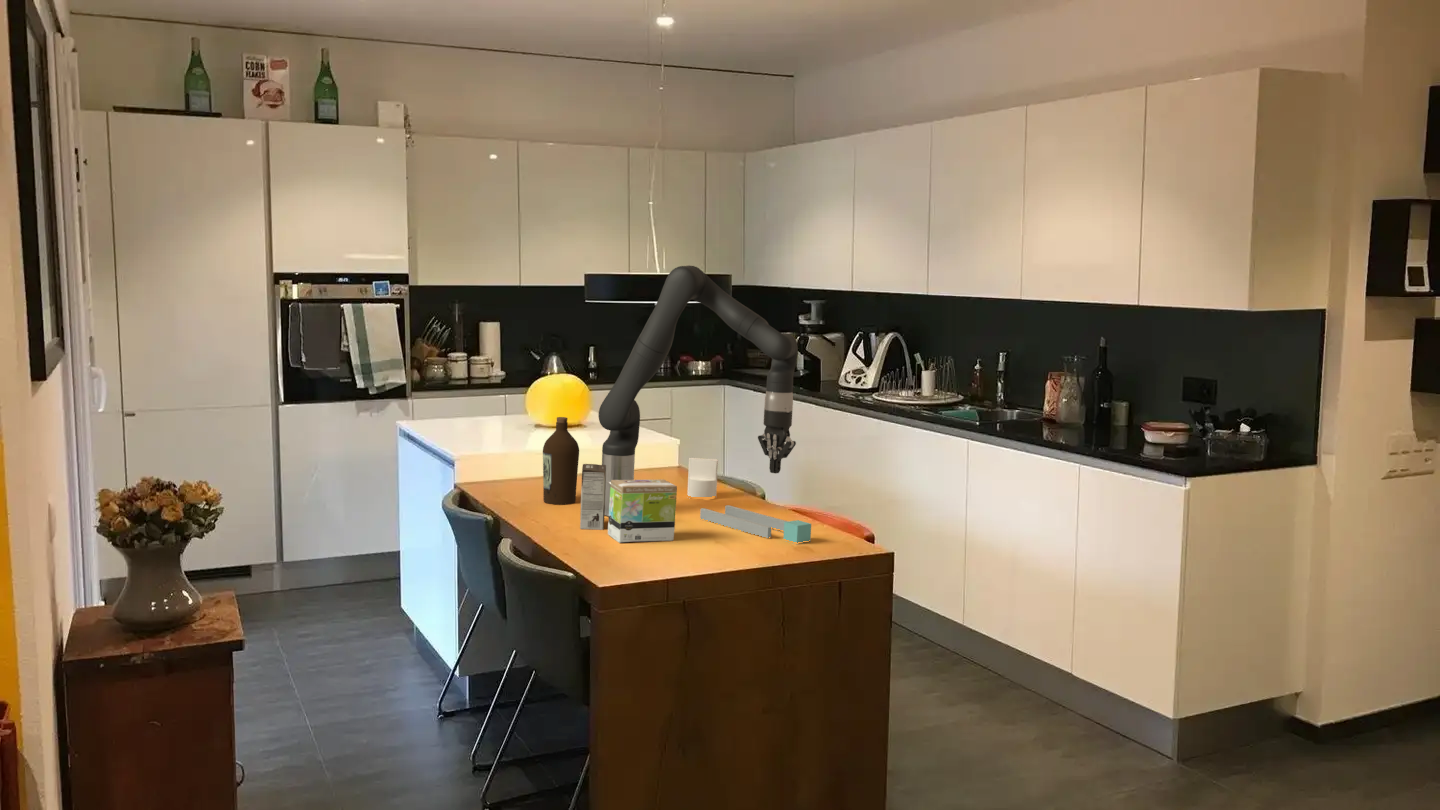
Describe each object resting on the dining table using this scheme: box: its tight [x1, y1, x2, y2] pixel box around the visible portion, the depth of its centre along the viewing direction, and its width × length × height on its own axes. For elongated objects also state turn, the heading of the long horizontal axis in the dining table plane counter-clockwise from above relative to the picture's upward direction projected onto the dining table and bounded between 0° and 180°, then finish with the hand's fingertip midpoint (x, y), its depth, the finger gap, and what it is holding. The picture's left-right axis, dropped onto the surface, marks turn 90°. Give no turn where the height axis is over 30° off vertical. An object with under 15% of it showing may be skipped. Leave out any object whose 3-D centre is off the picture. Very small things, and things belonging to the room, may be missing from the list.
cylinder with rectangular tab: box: [686, 457, 719, 497], centre depth 355 cm, size 9×9×12 cm
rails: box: [699, 504, 789, 539], centre depth 316 cm, size 10×28×3 cm, turn 40°
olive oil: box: [542, 416, 580, 506], centre depth 337 cm, size 11×11×25 cm
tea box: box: [607, 478, 678, 544], centre depth 295 cm, size 15×10×15 cm, turn 114°
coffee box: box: [579, 463, 606, 531], centre depth 307 cm, size 9×6×16 cm
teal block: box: [783, 519, 812, 543], centre depth 300 cm, size 5×5×5 cm
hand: (774, 472), depth 306 cm, fingers closed
